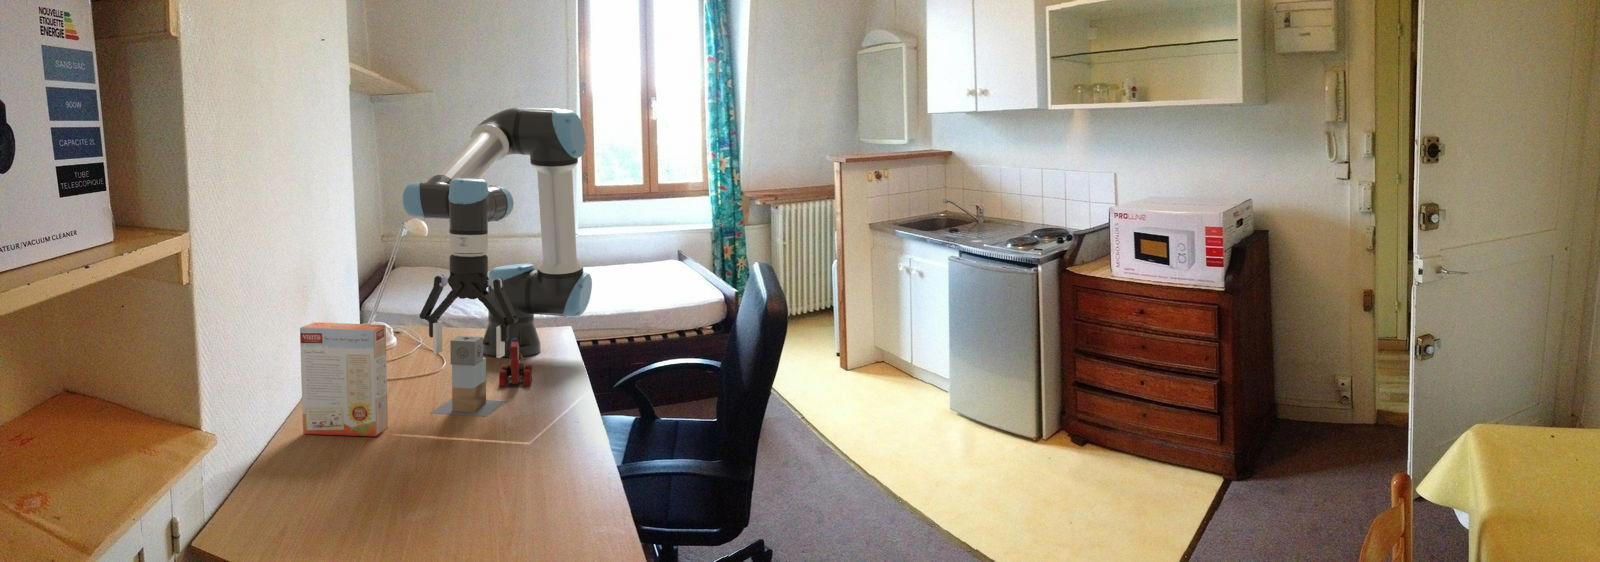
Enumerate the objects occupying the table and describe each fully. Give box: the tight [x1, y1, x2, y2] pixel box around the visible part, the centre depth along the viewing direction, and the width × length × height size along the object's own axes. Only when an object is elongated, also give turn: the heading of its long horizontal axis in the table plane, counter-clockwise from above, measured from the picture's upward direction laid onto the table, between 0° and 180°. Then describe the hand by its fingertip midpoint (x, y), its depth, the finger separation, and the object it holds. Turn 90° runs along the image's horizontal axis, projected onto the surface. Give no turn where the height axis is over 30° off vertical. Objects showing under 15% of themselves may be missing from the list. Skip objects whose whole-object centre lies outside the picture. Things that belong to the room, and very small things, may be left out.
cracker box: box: [299, 322, 389, 438], centre depth 187 cm, size 14×6×21 cm, turn 90°
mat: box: [429, 398, 508, 418], centre depth 207 cm, size 12×12×1 cm
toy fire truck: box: [498, 338, 533, 388], centre depth 228 cm, size 7×12×10 cm, turn 13°
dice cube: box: [449, 335, 484, 366], centre depth 204 cm, size 5×5×5 cm
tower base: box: [451, 380, 487, 412], centre depth 207 cm, size 7×4×5 cm, turn 176°
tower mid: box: [451, 357, 487, 389], centre depth 206 cm, size 7×4×5 cm, turn 176°
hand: (469, 354), depth 205 cm, fingers open, 13 cm apart
